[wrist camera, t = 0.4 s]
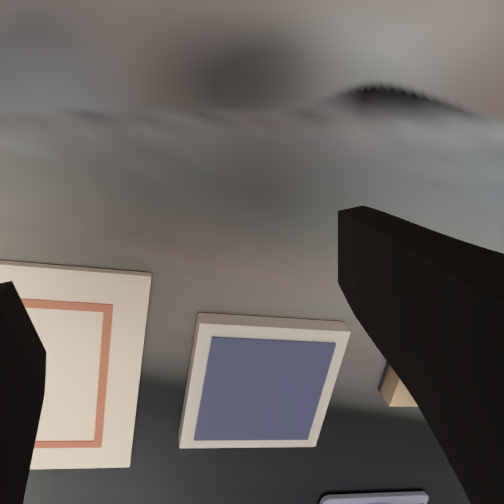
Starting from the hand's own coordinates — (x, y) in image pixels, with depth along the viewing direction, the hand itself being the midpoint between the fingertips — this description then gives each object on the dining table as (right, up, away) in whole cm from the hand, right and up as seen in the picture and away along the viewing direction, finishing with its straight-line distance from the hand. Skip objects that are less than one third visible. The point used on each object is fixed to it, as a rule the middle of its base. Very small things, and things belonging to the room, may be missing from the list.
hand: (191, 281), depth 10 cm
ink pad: (+2, -6, +15) cm, 16 cm away
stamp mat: (-10, -5, +12) cm, 17 cm away
